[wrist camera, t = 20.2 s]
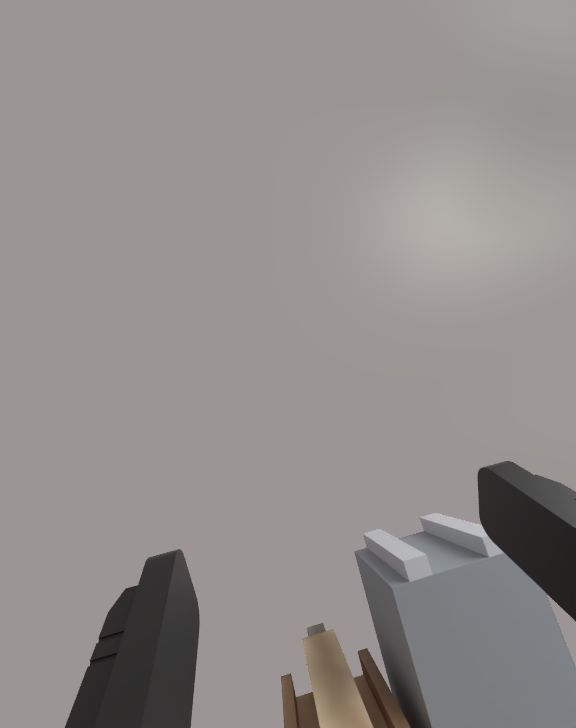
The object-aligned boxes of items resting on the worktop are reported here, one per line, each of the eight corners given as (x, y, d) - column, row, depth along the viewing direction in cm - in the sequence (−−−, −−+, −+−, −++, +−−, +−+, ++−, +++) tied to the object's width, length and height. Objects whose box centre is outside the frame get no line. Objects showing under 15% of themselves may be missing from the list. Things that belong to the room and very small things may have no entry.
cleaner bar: (372, 981, 14) (349, 871, 15) (306, 656, 39) (299, 622, 40) (447, 947, 15) (419, 842, 16) (335, 647, 40) (327, 613, 41)
